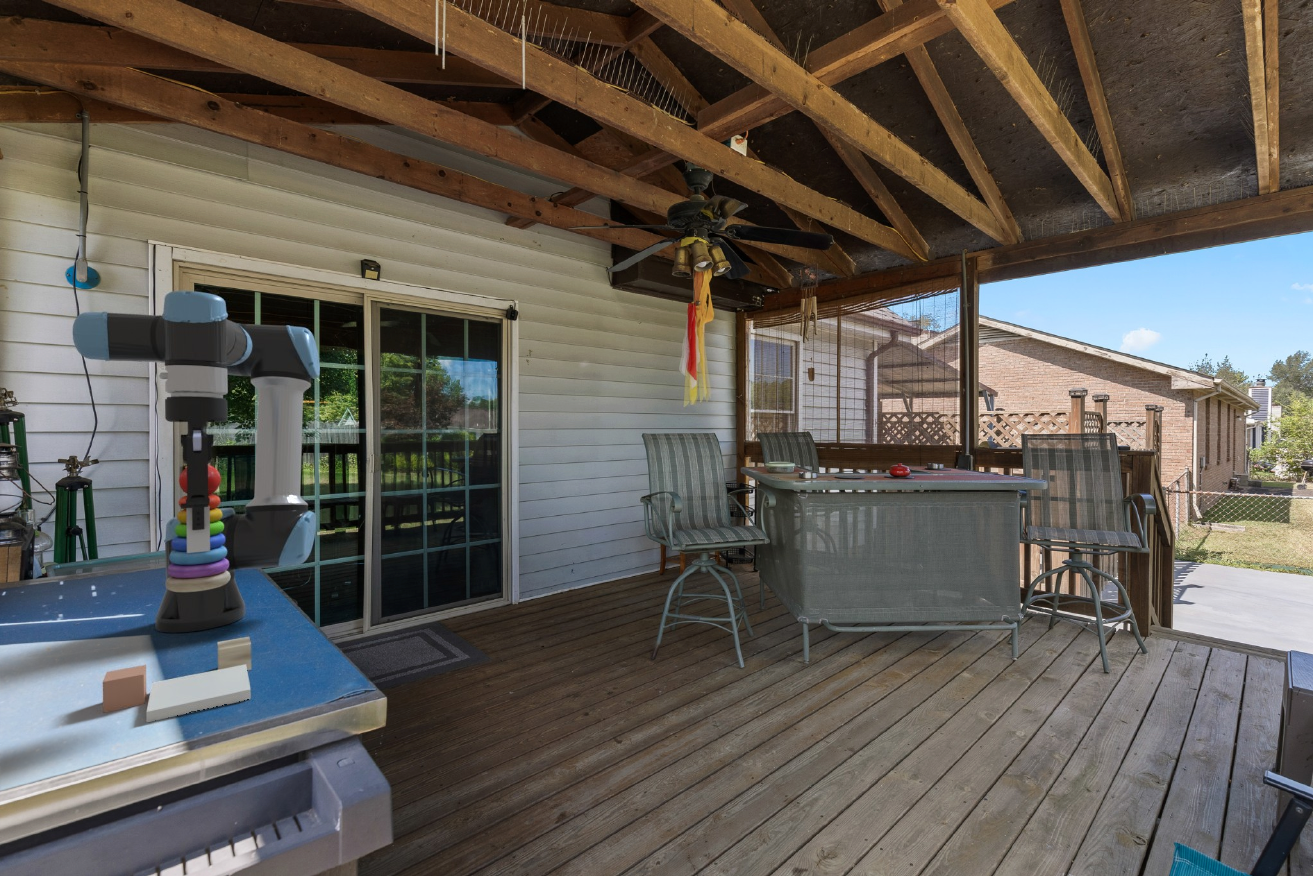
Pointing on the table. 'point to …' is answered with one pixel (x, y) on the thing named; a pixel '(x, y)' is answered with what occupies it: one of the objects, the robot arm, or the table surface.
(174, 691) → the white square slab
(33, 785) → the table surface
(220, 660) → the birch block
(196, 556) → the stacking toy
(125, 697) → the terracotta block
